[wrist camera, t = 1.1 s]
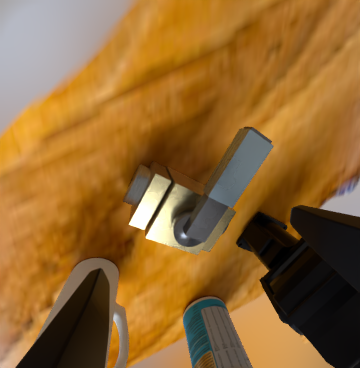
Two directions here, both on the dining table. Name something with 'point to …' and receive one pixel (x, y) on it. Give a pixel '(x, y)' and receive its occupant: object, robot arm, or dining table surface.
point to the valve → (167, 204)
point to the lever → (223, 187)
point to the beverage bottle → (213, 336)
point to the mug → (115, 310)
